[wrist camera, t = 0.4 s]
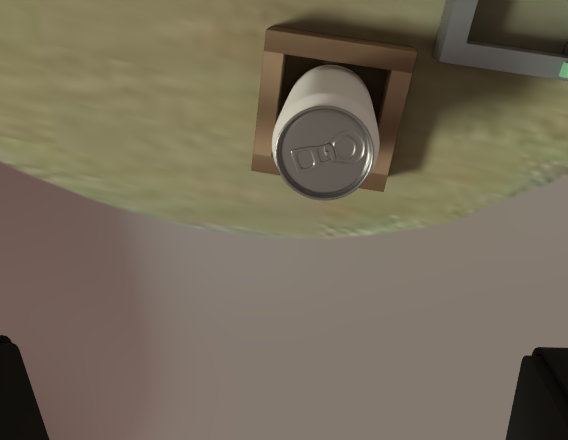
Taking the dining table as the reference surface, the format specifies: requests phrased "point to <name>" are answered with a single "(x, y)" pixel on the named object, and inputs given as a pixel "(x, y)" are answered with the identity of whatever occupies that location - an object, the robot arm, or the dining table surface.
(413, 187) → the dining table surface
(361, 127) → the can
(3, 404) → the robot arm
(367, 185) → the brown square frame
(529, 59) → the gray square frame
